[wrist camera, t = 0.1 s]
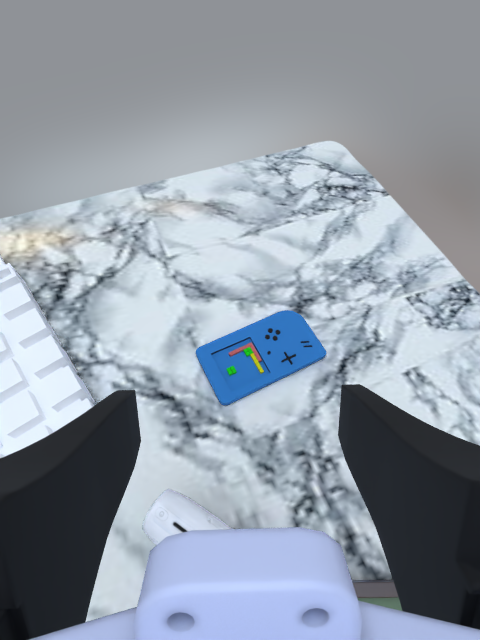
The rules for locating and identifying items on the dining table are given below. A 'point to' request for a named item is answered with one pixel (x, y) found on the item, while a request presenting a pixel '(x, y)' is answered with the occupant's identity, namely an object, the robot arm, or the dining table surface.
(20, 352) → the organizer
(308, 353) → the handheld gaming device
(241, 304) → the dining table surface
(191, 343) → the dining table surface
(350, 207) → the dining table surface
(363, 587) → the tray
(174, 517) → the photo printer
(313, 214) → the dining table surface
